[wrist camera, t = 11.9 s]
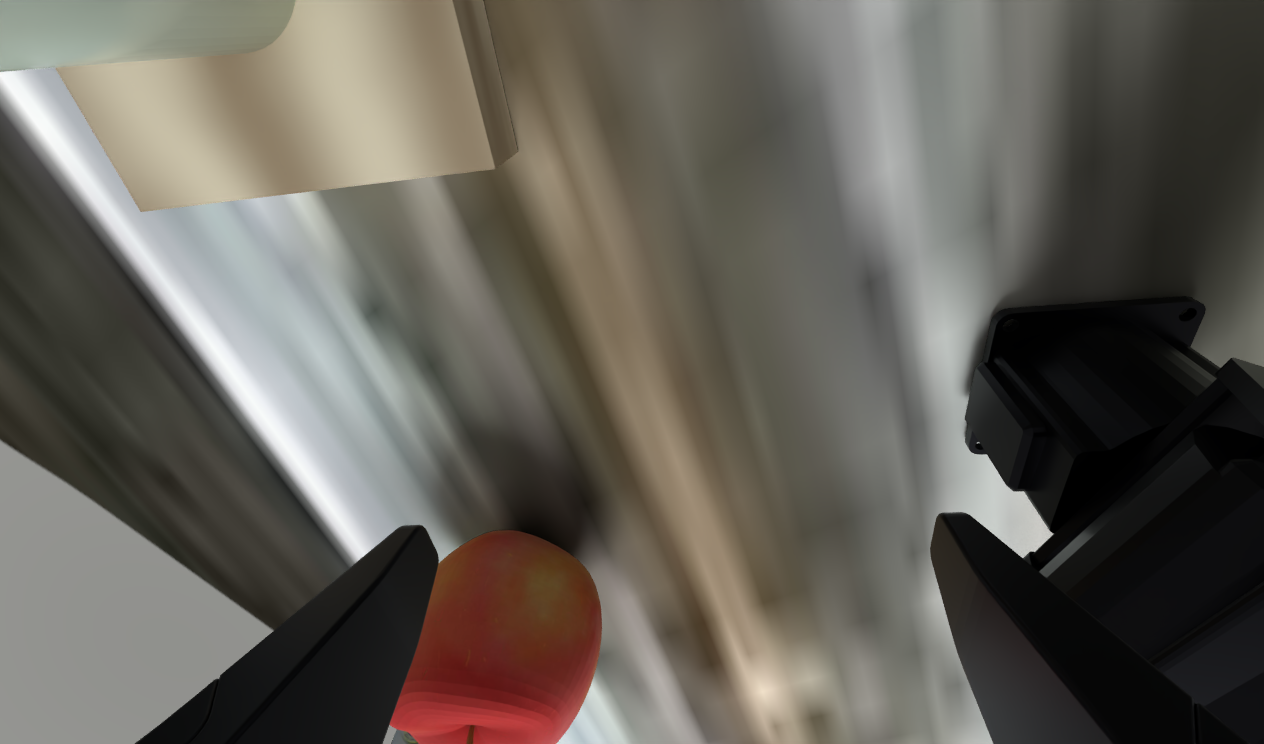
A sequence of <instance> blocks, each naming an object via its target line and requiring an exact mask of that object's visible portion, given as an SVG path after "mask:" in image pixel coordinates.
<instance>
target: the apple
mask: <svg viewBox="0 0 1264 744" xmlns="http://www.w3.org/2000/svg"><path fill="white" fill-rule="evenodd" d="M601 634H602V618H601V606H600V600H599V596H598V592H597V589H596V586H595V583H594V581H593V579H592V577H591V575H590V574H589V572H588V571H587V569H586V568H585V567H584V566H583V565H582V564H581V563H580V562H579V561H578V560H577V559H576V558H575V557H573V556H572V555H571V554H569V553H568V552H566V551H565V550H563V549H561V548H560V547H558V546H556V545H554V544H552V543H550V542H548V541H546V540H544V539H542V538H539V537H537V536H534V535H531V534H528V533H524V532H520V531H514V530H499V531H492V532H488V533H485V534H482V535H480V536H478V537H476V538H474V539H472V540H470V541H468V542H467V543H465V544H463V545H462V546H460V547H459V548H457V549H456V550H454V551H453V552H452V553H450V554H449V555H448V556H447V557H445V558H444V559H443V560H442V561H441V562H440V563H439V564H438V569H437V573H436V577H435V581H434V585H433V589H432V593H431V597H430V601H429V605H428V608H427V612H426V616H425V620H424V624H423V628H422V632H421V636H420V639H419V643H418V646H417V649H416V652H415V655H414V658H413V661H412V664H411V666H410V669H409V672H408V675H407V677H406V680H405V683H404V686H403V688H402V691H401V694H400V697H399V700H398V702H397V705H396V708H395V711H394V713H393V716H392V719H391V722H390V725H391V726H392V727H394V728H396V729H398V730H401V731H406V732H408V733H410V735H411V736H412V737H413V738H414V739H415V740H416V741H417V742H418V743H419V744H556V743H557V742H558V741H559V740H560V738H561V737H562V736H563V735H564V733H565V732H566V731H567V730H568V728H569V727H570V725H571V724H572V722H573V720H574V719H575V717H576V716H577V714H578V712H579V710H580V708H581V706H582V704H583V702H584V700H585V698H586V695H587V693H588V690H589V688H590V686H591V682H592V679H593V676H594V673H595V670H596V666H597V661H598V657H599V651H600V644H601Z"/></svg>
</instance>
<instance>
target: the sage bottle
mask: <svg viewBox="0 0 1264 744" xmlns="http://www.w3.org/2000/svg"><path fill="white" fill-rule="evenodd" d="M295 1H296V0H0V72H4V71H17V70H31V69H44V68H58V67H71V66H84V65H98V64H111V63H125V62H138V61H152V60H165V59H179V58H192V57H205V56H219V55H232V54H246V53H251V52H256V51H258V50H261V49H263V48H265V47H267V46H268V45H270V44H271V43H273V42H274V41H275V40H276V39H277V38H278V37H279V36H280V35H281V34H282V32H283V31H284V30H285V28H286V27H287V25H288V23H289V20H290V18H291V16H292V13H293V9H294V6H295Z"/></svg>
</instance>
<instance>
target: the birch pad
mask: <svg viewBox="0 0 1264 744" xmlns="http://www.w3.org/2000/svg"><path fill="white" fill-rule="evenodd" d="M56 70H57V72H58V73H59V75H60V77H61V78H62V80H63V82H64V83H65V85H66V87H67V89H68V90H69V92H70V94H71V95H72V97H73V99H74V100H75V102H76V104H77V105H78V107H79V109H80V110H81V112H82V114H83V115H84V117H85V119H86V121H87V122H88V124H89V126H90V127H91V129H92V131H93V132H94V134H95V136H96V137H97V139H98V141H99V142H100V144H101V146H102V147H103V149H104V151H105V152H106V154H107V156H108V158H109V159H110V161H111V163H112V164H113V166H114V168H115V169H116V171H117V173H118V174H119V176H120V178H121V179H122V181H123V183H124V184H125V186H126V188H127V189H128V191H129V193H130V195H131V196H132V198H133V200H134V201H135V203H136V205H137V206H138V208H139V210H140V211H141V212H145V211H153V210H161V209H169V208H178V207H186V206H194V205H202V204H210V203H219V202H227V201H235V200H243V199H252V198H260V197H268V196H276V195H285V194H293V193H301V192H309V191H317V190H326V189H334V188H342V187H350V186H359V185H367V184H375V183H383V182H392V181H400V180H408V179H416V178H424V177H433V176H441V175H449V174H457V173H466V172H474V171H482V170H490V169H496V168H497V167H498V166H500V165H501V164H502V163H504V162H505V161H506V160H508V159H509V158H510V157H512V156H513V155H514V154H516V153H517V152H518V149H517V145H516V140H515V136H514V132H513V127H512V123H511V119H510V114H509V110H508V106H507V101H506V97H505V93H504V88H503V84H502V80H501V75H500V71H499V67H498V62H497V58H496V53H495V49H494V45H493V40H492V36H491V32H490V27H489V23H488V19H487V14H486V10H485V6H484V1H483V0H296V1H295V6H294V9H293V13H292V16H291V18H290V20H289V23H288V25H287V27H286V28H285V30H284V31H283V32H282V34H281V35H280V36H279V37H278V38H277V39H276V40H275V41H274V42H273V43H271V44H270V45H268V46H267V47H265V48H263V49H261V50H258V51H256V52H251V53H246V54H232V55H219V56H205V57H192V58H179V59H165V60H152V61H138V62H125V63H111V64H98V65H84V66H71V67H58V68H56Z"/></svg>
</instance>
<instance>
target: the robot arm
mask: <svg viewBox="0 0 1264 744" xmlns="http://www.w3.org/2000/svg"><path fill="white" fill-rule="evenodd" d="M1185 309H1188V310H1187V311H1186V313H1184V314H1183V315H1180V313H1181V312H1182V311H1184V310H1185ZM1204 314H1205V306H1204V305H1203V304H1202V303H1200V302H1198V301H1197V300H1195V299H1193V298H1192V297H1170V298H1155V299H1140V300H1125V301H1110V302H1095V303H1080V304H1065V305H1050V306H1035V307H1020V308H1008V309H1003V310H1001V311H999V312H998V313H996V315H995V316H994V317H993V318H992V321H991V324H990V329H989V333H988V338H987V342H986V347H985V351H984V356H983V360H982V363H980V364H979V365H978V366H977V367H976V369H975V373H974V378H973V382H972V387H971V392H970V396H969V401H968V406H967V410H966V415H965V420H966V421H967V423H968V429H967V433H966V438H965V443H966V445H967V446H968V448H969V450H970V451H971V452H972V453H974V454H987V455H988V457H989V458H990V460H991V461H992V463H993V465H994V466H995V468H996V469H997V471H998V473H999V474H1000V476H1001V477H1002V479H1003V481H1004V482H1005V484H1006V485H1007V486H1008V487H1009V488H1010V489H1011V490H1013V491H1024V492H1025V493H1026V495H1027V496H1028V498H1029V500H1030V501H1031V503H1032V504H1033V506H1034V507H1035V509H1036V510H1037V512H1038V513H1039V515H1040V516H1041V518H1042V519H1043V521H1044V522H1045V524H1046V526H1047V527H1048V529H1049V530H1050V531H1051V532H1052V533H1054V534H1053V535H1052V536H1051V537H1050V538H1049V539H1048V540H1047V541H1046V542H1045V543H1044V544H1043V545H1042V546H1041V547H1040V548H1039V549H1038V550H1037V551H1035V552H1029V553H1028V554H1027V555H1026V556H1025V557H1024V558H1022V557H1020V556H1019V555H1018V554H1017V553H1016V552H1014V551H1013V550H1012V549H1011V548H1009V547H1008V546H1007V545H1006V544H1005V543H1003V542H1002V541H1001V540H1000V539H998V538H997V537H996V536H995V535H994V534H992V533H991V532H990V531H989V530H987V529H986V528H985V527H984V526H983V525H981V524H980V523H979V522H978V521H976V520H975V519H974V518H973V517H972V516H970V515H968V514H966V513H963V512H953V513H940V514H939V515H938V516H937V518H936V522H935V527H934V532H933V537H932V542H931V547H930V553H931V560H932V564H933V567H934V571H935V575H936V578H937V582H938V585H939V589H940V593H941V596H942V600H943V604H944V607H945V611H946V614H947V618H948V622H949V625H950V629H951V632H952V636H953V639H954V643H955V646H956V649H957V653H958V655H959V658H960V661H961V664H962V666H963V669H964V671H965V674H966V676H967V679H968V681H969V684H970V686H971V689H972V691H973V694H974V696H975V699H976V701H977V704H978V706H979V709H980V711H981V714H982V716H983V719H984V721H985V724H986V726H987V729H988V731H989V734H990V736H991V739H992V741H993V744H1264V367H1262V366H1259V365H1255V364H1252V363H1249V362H1246V361H1243V360H1239V359H1236V358H1231V359H1230V360H1229V361H1228V362H1227V363H1226V364H1225V365H1224V366H1223V367H1221V368H1219V367H1218V366H1217V365H1215V364H1214V363H1212V362H1211V361H1209V360H1208V359H1207V358H1205V357H1204V356H1202V355H1201V354H1199V353H1198V352H1197V351H1195V350H1194V349H1192V348H1191V347H1190V346H1191V344H1192V342H1193V339H1194V337H1195V335H1196V332H1197V330H1198V328H1199V326H1200V323H1201V321H1202V319H1203V316H1204ZM1179 315H1180V316H1179ZM1012 319H1014V321H1013V323H1012V324H1011V325H1009V326H1006V327H1003V325H1004V324H1005V323H1006V322H1007V321H1008V320H1012ZM977 442H980V443H978V444H976V443H977ZM438 562H439V560H438V554H437V551H436V549H435V547H434V545H433V543H432V541H431V539H430V536H429V534H428V532H427V530H426V529H425V528H424V527H423V526H421V525H404V526H401V527H399V528H398V529H396V530H395V531H394V532H393V533H391V534H390V535H389V536H388V537H387V538H385V539H384V540H383V541H382V542H380V543H379V544H378V545H377V546H376V547H374V548H373V549H372V550H371V551H370V552H368V553H367V554H366V555H365V556H364V557H362V558H361V559H360V560H359V561H358V562H356V563H355V564H354V565H353V566H352V567H350V568H349V569H348V570H347V571H346V572H344V573H343V574H342V575H341V576H339V577H338V578H337V579H336V580H335V581H333V582H332V583H331V584H330V585H329V586H327V587H326V588H325V589H324V590H323V591H321V592H320V593H319V594H318V595H317V596H315V597H314V598H313V599H312V600H311V601H309V602H308V603H307V604H306V605H305V606H303V607H302V608H301V609H300V610H298V611H297V612H296V613H295V614H294V615H292V616H291V617H290V618H289V619H288V620H286V621H285V622H284V623H283V624H282V625H280V626H279V627H278V628H277V629H276V630H274V631H273V632H272V633H271V634H270V635H268V636H267V637H266V638H265V639H264V640H262V641H261V642H260V643H259V644H258V645H256V646H255V647H254V648H253V649H251V650H250V651H249V652H248V653H247V654H245V655H244V656H243V657H242V658H241V659H239V660H238V661H237V662H236V663H235V664H233V665H232V666H231V667H230V668H229V669H227V670H226V671H225V672H224V673H223V674H221V675H220V678H219V679H215V680H214V681H213V682H212V683H210V684H209V685H208V686H207V687H206V688H204V689H203V690H202V691H201V692H199V693H198V694H197V695H196V696H195V697H193V698H192V699H191V700H190V701H188V702H187V703H186V704H185V705H183V706H182V707H181V708H180V709H178V710H177V711H176V712H175V713H173V714H172V715H171V716H170V717H168V718H167V719H166V720H165V721H164V722H162V723H161V724H160V725H159V726H157V727H156V728H155V729H153V730H152V731H151V732H150V733H148V734H147V735H145V736H144V737H143V738H142V739H140V740H139V741H138V742H136V743H135V744H383V741H384V738H385V735H386V733H387V730H388V727H389V724H390V722H391V719H392V716H393V713H394V711H395V708H396V705H397V702H398V700H399V697H400V694H401V691H402V688H403V686H404V683H405V680H406V677H407V675H408V672H409V669H410V666H411V664H412V661H413V658H414V655H415V652H416V649H417V646H418V643H419V639H420V636H421V632H422V628H423V624H424V620H425V616H426V612H427V608H428V605H429V601H430V597H431V593H432V589H433V585H434V581H435V577H436V573H437V569H438Z"/></svg>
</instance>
